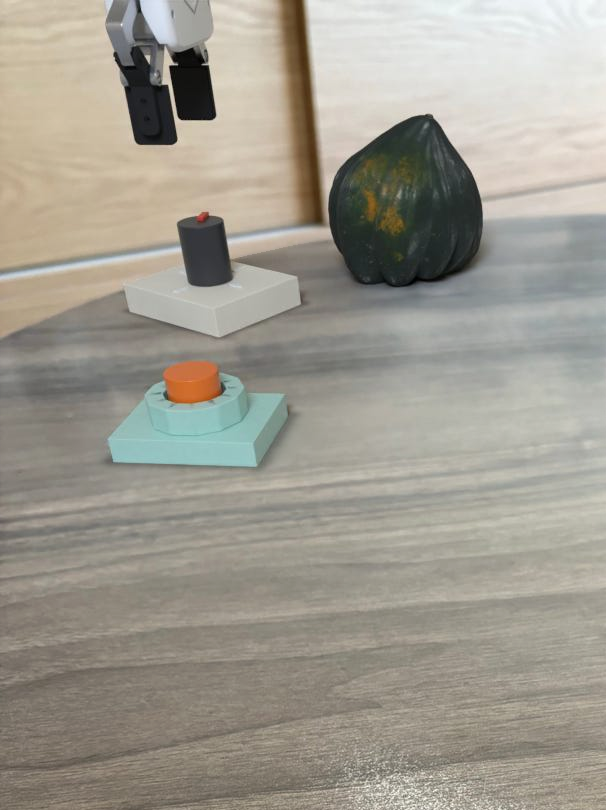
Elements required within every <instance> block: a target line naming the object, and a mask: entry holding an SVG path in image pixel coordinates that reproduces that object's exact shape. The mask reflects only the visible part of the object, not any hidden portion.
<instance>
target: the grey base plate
mask: <svg viewBox="0 0 606 810" xmlns="http://www.w3.org/2000/svg"><path fill="white" fill-rule="evenodd" d="M230 262H231V268H232V274H233V278H232V280H230V281H229V282H227V283H224V284H220V285H215V286H195V285H191V284H189V283H188V281H187V275H186V270H185V265H184V263H182V264H178V265H175V266H172V267H170V268H166V269H164V270H160V271H157V272H154V273H151V274H148V275H144V276H142V277H139V278H137V279H134V280H130V281H128V282H125V283H123V289H124V294H125V298H126V303H127V306H128V311H129V313H133V314H136V315H140V316H143V317H146V318H150V319H154V320H157V321H160V322H164V323H166V324H167V323H168V324H170V325H174V326H178V327H181V328H185V329H188V330H191V331H194V332H198V333H202V334H204V335H209V336H212V337H215V338H221V337H224V336H226V335H230V334H231V333H234V332H236V331H238V330H239V331H240V330H241V329H244V328H246V327H249V326H251V325H254V324H256V323H258V322H261V321H263V320H266V319H268V318H271V317H273V316H276V315H278V314H281V313H284V312H286V311H289V310H291V309H293V308H297V307H298V306H300V305H302V301H301V293H300V284H299V277H298V276H296V275H293V274H288V273H285V272H280V271H275V270H271V269H267V268H264V267H263V268H262V267H258V266H254V265H250V264H245V263H241V262H237V261H232V260H230Z"/></svg>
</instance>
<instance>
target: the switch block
mask: <svg viewBox="0 0 606 810" xmlns="http://www.w3.org/2000/svg"><path fill="white" fill-rule="evenodd" d="M219 377H220V382H221V388H222V394H221V396H218V397H216V398H214V399H212V400H209V401H204V402H199V403H193V404H182V403H174V402H171V401H170V400H169V399H168V394H167V390H166V385H165V381H164V380H162V381H160V382H157V383H154V384H153V385H152V386H150V388H149V389H148V390H147V391H146V392H145V393H144V396H143V397H144V398H143V399H142V400H141V401H140V402H139V403H138V404H137V406H136V407H135V408H134V409H133V410H132V411H131V412H130V413H129V414H128V415H127V417H125V419H124V420H123V421H122V422H121V423H120V424H119V425H118V427H117V428H116V429H115V430H114V431H113V432H112V433H111V434H110V435H109V436H108V438H107V442H108V446H109V450H110V454H111V457H112V461H113V463H128V464H129V463H131V464H157V465H159V464H161V465H189V466H190V465H191V466H192V465H193V466H224V467H253V468H254V467H255V468H256V467H258V466H259V464H260V463H261V462H262V459H263V458H264V456H266V455H265V454H266V453H267V452H268V450H269V449H270V447H271V445H272V444H273V442H274V440H275V438H276V436H277V435H278V434H279V432H280V430H281V429H282V427H283V425H284V424H285V422H286V420H287V419H288V417H289V412H288V406H287V405H288V404H287V399H286V393H272V392H271V393H270V392H246V389H245V386H244V384H243V382H242V381H241V379H240V378H239V377H238V376H237V377H236V376H234V375H231V374H227V373H224V372H219Z"/></svg>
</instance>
